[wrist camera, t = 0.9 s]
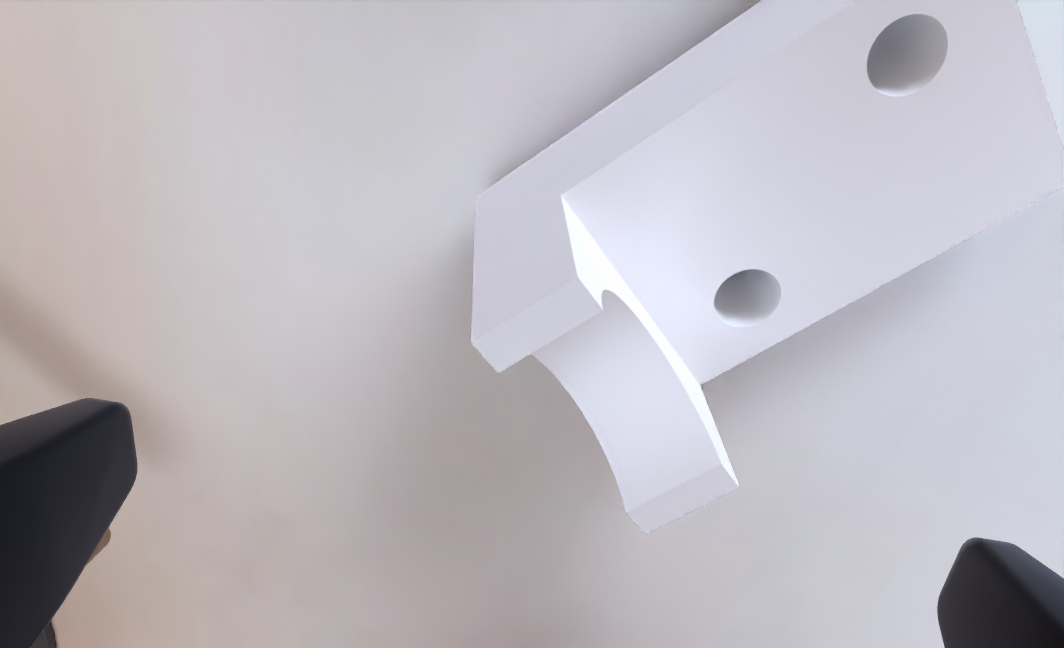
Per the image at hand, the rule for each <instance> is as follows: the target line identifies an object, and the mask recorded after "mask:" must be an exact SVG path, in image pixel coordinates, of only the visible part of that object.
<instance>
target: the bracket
mask: <svg viewBox="0 0 1064 648" xmlns="http://www.w3.org/2000/svg"><path fill="white" fill-rule="evenodd" d="M1062 187H1064V148H1063V145H1062V142H1061V139H1060V136H1059V133H1058V130H1057V126H1056V123H1055V120H1054V117H1053V114H1052V111H1051V108H1050V104H1049V101H1048V98H1047V95H1046V92H1045V89H1044V85H1043V82H1042V79H1041V76H1040V73H1039V70H1038V67H1037V63H1036V60H1035V57H1034V54H1033V51H1032V48H1031V44H1030V41H1029V38H1028V35H1027V32H1026V29H1025V26H1024V22H1023V19H1022V16H1021V13H1020V10H1019V7H1018V3H1017V0H761V1H760V2H758V3H757V4H755V5H754V6H752V7H751V8H750V9H748V10H747V11H745V12H744V13H742V14H741V15H739V16H738V17H736V18H735V19H734V20H732V21H731V22H729V23H728V24H726V25H725V26H723V27H722V28H720V29H719V30H717V31H716V32H715V33H713V34H712V35H710V36H709V37H707V38H706V39H704V40H703V41H701V42H700V43H699V44H697V45H696V46H694V47H693V48H691V49H690V50H688V51H687V52H685V53H684V54H683V55H681V56H680V57H678V58H677V59H675V60H674V61H672V62H671V63H669V64H668V65H666V66H665V67H664V68H662V69H661V70H659V71H658V72H656V73H655V74H653V75H652V76H650V77H649V78H648V79H646V80H645V81H643V82H642V83H640V84H639V85H637V86H636V87H634V88H633V89H631V90H630V91H629V92H627V93H626V94H624V95H623V96H621V97H620V98H618V99H617V100H615V101H614V102H613V103H611V104H610V105H608V106H607V107H605V108H604V109H602V110H601V111H599V112H598V113H597V114H595V115H594V116H592V117H591V118H589V119H588V120H586V121H585V122H583V123H582V124H580V125H579V126H578V127H576V128H575V129H573V130H572V131H570V132H569V133H567V134H566V135H564V136H563V137H562V138H560V139H559V140H557V141H556V142H554V143H553V144H551V145H550V146H548V147H547V148H546V149H544V150H543V151H541V152H540V153H538V154H537V155H535V156H534V157H532V158H531V159H529V160H528V161H527V162H525V163H524V164H522V165H521V166H519V167H518V168H516V169H515V170H513V171H512V172H511V173H509V174H508V175H506V176H505V177H503V178H502V179H500V180H499V181H497V182H496V183H494V184H493V185H492V186H490V187H489V188H487V189H486V190H484V191H483V192H481V193H480V194H478V195H477V196H476V205H475V236H474V267H473V298H472V329H471V344H472V345H473V346H474V347H475V348H476V349H477V350H478V351H479V352H480V354H481V355H482V356H483V357H484V358H485V359H486V360H487V361H488V362H489V363H490V365H491V366H492V367H493V368H494V369H495V370H496V371H497V372H498V373H500V372H501V371H503V370H505V369H506V368H508V367H510V366H511V365H513V364H515V363H516V362H518V361H520V360H521V359H523V358H525V357H526V356H528V355H530V354H531V355H533V356H534V357H535V358H537V359H538V360H539V361H540V362H541V363H543V364H544V365H545V366H546V367H547V368H548V369H549V370H550V371H551V372H552V373H553V374H554V376H555V377H556V378H557V379H558V380H559V381H560V382H561V384H562V385H563V386H564V388H565V389H566V390H567V391H568V393H569V394H570V395H571V397H572V398H573V400H574V401H575V402H576V404H577V405H578V407H579V408H580V410H581V411H582V413H583V415H584V416H585V418H586V419H587V421H588V423H589V424H590V426H591V428H592V430H593V431H594V433H595V435H596V437H597V439H598V441H599V443H600V445H601V447H602V449H603V451H604V453H605V455H606V457H607V459H608V461H609V464H610V466H611V468H612V471H613V473H614V476H615V478H616V481H617V484H618V487H619V490H620V493H621V496H622V500H623V503H624V507H625V512H626V514H627V515H628V516H629V517H630V518H631V519H632V520H633V521H634V522H635V524H636V525H637V526H638V527H639V528H640V529H641V530H642V531H643V532H644V533H645V534H647V533H649V532H651V531H653V530H655V529H657V528H659V527H661V526H663V525H665V524H667V523H669V522H671V521H674V520H676V519H678V518H680V517H682V516H684V515H686V514H688V513H690V512H692V511H694V510H696V509H698V508H700V507H702V506H704V505H706V504H708V503H710V502H712V501H714V500H716V499H718V498H720V497H722V496H724V495H726V494H728V493H730V492H732V491H734V490H736V489H738V488H740V487H739V485H738V482H737V480H736V477H735V474H734V472H733V469H732V467H731V464H730V461H729V459H728V456H727V454H726V451H725V449H724V446H723V443H722V441H721V438H720V436H719V433H718V430H717V428H716V425H715V423H714V420H713V418H712V415H711V412H710V410H709V407H708V405H707V402H706V399H705V397H704V394H703V392H702V389H701V387H700V385H702V384H704V383H706V382H707V381H709V380H711V379H713V378H715V377H716V376H718V375H720V374H722V373H724V372H726V371H727V370H729V369H731V368H733V367H735V366H737V365H738V364H740V363H742V362H744V361H746V360H748V359H749V358H751V357H753V356H755V355H757V354H758V353H760V352H762V351H764V350H766V349H768V348H769V347H771V346H773V345H775V344H777V343H779V342H780V341H782V340H784V339H786V338H788V337H790V336H791V335H793V334H795V333H797V332H799V331H800V330H802V329H804V328H806V327H808V326H810V325H811V324H813V323H815V322H817V321H819V320H821V319H822V318H824V317H826V316H828V315H830V314H832V313H833V312H835V311H837V310H839V309H841V308H843V307H844V306H846V305H848V304H850V303H852V302H853V301H855V300H857V299H859V298H861V297H863V296H864V295H866V294H868V293H870V292H872V291H874V290H875V289H877V288H879V287H881V286H883V285H885V284H886V283H888V282H890V281H892V280H894V279H895V278H897V277H899V276H901V275H903V274H905V273H906V272H908V271H910V270H912V269H914V268H916V267H917V266H919V265H921V264H923V263H925V262H927V261H928V260H930V259H932V258H934V257H936V256H937V255H939V254H941V253H943V252H945V251H947V250H948V249H950V248H952V247H954V246H956V245H958V244H959V243H961V242H963V241H965V240H967V239H969V238H970V237H972V236H974V235H976V234H978V233H980V232H981V231H983V230H985V229H987V228H989V227H990V226H992V225H994V224H996V223H998V222H1000V221H1001V220H1003V219H1005V218H1007V217H1009V216H1011V215H1012V214H1014V213H1016V212H1018V211H1020V210H1022V209H1023V208H1025V207H1027V206H1029V205H1031V204H1032V203H1034V202H1036V201H1038V200H1040V199H1042V198H1043V197H1045V196H1047V195H1049V194H1051V193H1053V192H1054V191H1056V190H1058V189H1060V188H1062ZM740 271H741V272H740ZM738 272H739V273H738ZM735 273H738V274H737V275H735V276H733V277H731V278H729V277H730V276H732V275H733V274H735ZM727 278H728V279H727Z"/></svg>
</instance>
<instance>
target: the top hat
mask: <svg viewBox="0 0 1064 648" xmlns="http://www.w3.org/2000/svg"><path fill="white" fill-rule="evenodd" d="M31 648H56V645H55V639H54V633H53V630H52V627H51V624H50V622H49V623H48V624H47V626H46V627H45V629H44V630H43V631H42V633H41V634H40V635H39V637H38V638H37V639H36V641H35V642H34V643H33V645H32V646H31Z"/></svg>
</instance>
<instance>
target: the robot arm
mask: <svg viewBox="0 0 1064 648" xmlns="http://www.w3.org/2000/svg"><path fill="white" fill-rule="evenodd" d="M136 475H137V457H136V450H135V442H134V435H133V428H132V420H131V415H130V412H129V410H128V408H127V407H126V406H125V405H123V404H122V403H119V402H113V401H107V400H100V399H94V398H85V399H81V400H78V401H74V402H71V403H68V404H65V405H62V406H59V407H56V408H52V409H49V410H46V411H43V412H40V413H37V414H34V415H30V416H27V417H24V418H21V419H18V420H15V421H12V422H9V423H5V424H2V425H0V648H31V646H32V645H33V643H34V642H35V641H36V639H37V638H38V637H39V635H40V634H41V633H42V631H43V630H44V629H45V627H46V626H47V624H48V623H49V622H50V620H51V619H52V617H53V616H54V615H55V613H56V612H57V610H58V609H59V607H60V606H61V604H62V603H63V601H64V600H65V598H66V597H67V595H68V594H69V592H70V590H71V589H72V587H73V586H74V584H75V582H76V581H77V579H78V577H79V576H80V574H81V572H82V571H83V569H84V567H85V566H86V564H87V562H88V561H89V559H90V557H91V556H92V554H93V552H94V551H95V549H96V547H97V546H98V544H99V542H100V541H101V539H102V537H103V536H104V534H105V532H106V531H107V529H108V527H109V526H110V524H111V522H112V521H113V519H114V517H115V516H116V514H117V512H118V511H119V509H120V507H121V506H122V504H123V502H124V501H125V499H126V497H127V496H128V494H129V492H130V491H131V489H132V487H133V484H134V482H135V479H136ZM937 612H938V621H939V626H940V630H941V634H942V638H943V642H944V647H945V648H1064V579H1063V578H1062V577H1061V576H1059V575H1058V574H1056V573H1055V572H1053V571H1052V570H1051V569H1049V568H1048V567H1046V566H1045V565H1043V564H1042V563H1041V562H1039V561H1038V560H1036V559H1035V558H1033V557H1032V556H1031V555H1029V554H1028V553H1026V552H1025V551H1023V550H1022V549H1021V548H1019V547H1018V546H1016V545H1014V544H1011V543H1008V542H1002V541H996V540H989V539H983V538H971V539H969V540H967V541H966V542H965V543H964V544H963V545H962V547H961V549H960V551H959V553H958V555H957V557H956V559H955V562H954V564H953V566H952V568H951V571H950V573H949V575H948V577H947V579H946V582H945V584H944V586H943V588H942V591H941V593H940V596H939V600H938V607H937Z"/></svg>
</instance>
